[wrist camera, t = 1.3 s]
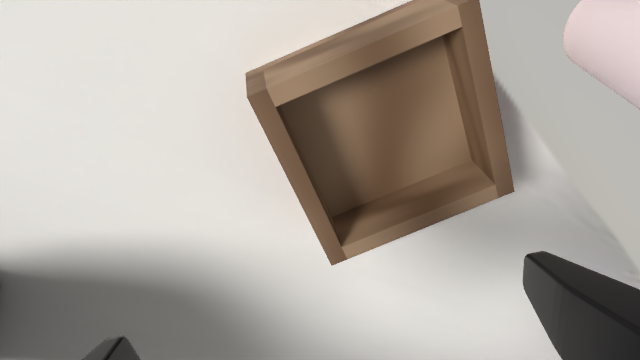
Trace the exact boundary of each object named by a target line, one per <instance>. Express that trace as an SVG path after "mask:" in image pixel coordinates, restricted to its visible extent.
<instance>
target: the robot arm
mask: <svg viewBox="0 0 640 360" xmlns="http://www.w3.org/2000/svg"><path fill="white" fill-rule="evenodd" d="M523 286H524V290H525V292H526V294H527V296H528V298H529V300H530V302H531V304H532V306H533V308H534V310H535V312H536V314H537V315H538V317H539V319H540V321H541V323H542V325H543V327H544V329H545V331H546V333H547V334H548V336H549V338H550V340H551V342H552V344H553V345H554V347H555V349H556V350H557V352H558V353H559V355H560V357H561V358H562V360H640V290H639V289H637V288H634V287H632V286H629V285H627V284H624V283H622V282H620V281H617V280H615V279H612V278H610V277H607V276H605V275H602V274H600V273H597V272H595V271H592V270H590V269H587V268H585V267H582V266H580V265H577V264H575V263H573V262H570V261H568V260H565V259H563V258H560V257H558V256H555V255H553V254H550V253H548V252H544V251H540V252H535V253H530V254H527V255H526V256H525V258H524V269H523ZM82 360H140V358H139V356H138V355H137V353H136V351H135V350H134V348H133V347H132V345H131V344H130V342H129V340H128V339H127V338H126V337H125V336H117V337H112V338H108V339H106V340H104V341H103V342H102V343H101V344H99V345H98V346H97V347H96V348H95V349H94V350H93V351H91V352H90V353H89V354H88V355H87V356H86V357H84V358H83V359H82Z"/></svg>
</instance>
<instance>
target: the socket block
mask: <svg viewBox="0 0 640 360" xmlns="http://www.w3.org/2000/svg"><path fill="white" fill-rule="evenodd" d="M246 88H247V98H248V100H249V102H250V104H251V106H252V108H253V110H254V112H255V114H256V116H257V118H258V120H259V122H260V124H261V126H262V128H263V130H264V132H265V134H266V136H267V138H268V140H269V142H270V144H271V146H272V148H273V150H274V152H275V154H276V156H277V158H278V160H279V162H280V164H281V166H282V168H283V170H284V172H285V174H286V176H287V178H288V180H289V182H290V184H291V186H292V188H293V189H294V191H295V193H296V195H297V197H298V199H299V201H300V203H301V205H302V207H303V209H304V211H305V213H306V215H307V217H308V219H309V221H310V223H311V225H312V227H313V229H314V231H315V233H316V235H317V237H318V239H319V241H320V243H321V245H322V247H323V249H324V251H325V253H326V255H327V257H328V259H329V261H330V263H331V265H334V264H337V263H339V262H342V261H344V260H347V259H349V258H352V257H354V256H357V255H359V254H362V253H364V252H366V251H369V250H371V249H374V248H376V247H379V246H381V245H384V244H386V243H389V242H391V241H394V240H396V239H398V238H401V237H403V236H406V235H408V234H411V233H413V232H416V231H418V230H421V229H423V228H426V227H428V226H430V225H433V224H435V223H438V222H440V221H443V220H445V219H448V218H450V217H453V216H455V215H458V214H460V213H462V212H465V211H467V210H470V209H472V208H475V207H477V206H480V205H482V204H485V203H487V202H490V201H492V200H494V199H497V198H499V197H502V196H504V195H507V194H509V193H512V192H514V187H513V181H512V176H511V170H510V165H509V160H508V154H507V149H506V143H505V138H504V132H503V127H502V122H501V116H500V111H499V105H498V100H497V95H496V89H495V84H494V78H493V73H492V68H491V62H490V57H489V52H488V46H487V40H486V35H485V30H484V24H483V19H482V13H481V8H480V3H479V0H412V1H410V2H408V3H405V4H403V5H401V6H399V7H396V8H394V9H392V10H389V11H387V12H385V13H383V14H380V15H378V16H376V17H373V18H371V19H369V20H367V21H364V22H362V23H360V24H357V25H355V26H353V27H350V28H348V29H346V30H344V31H341V32H339V33H337V34H334V35H332V36H330V37H328V38H325V39H323V40H321V41H318V42H316V43H314V44H311V45H309V46H307V47H305V48H302V49H300V50H298V51H295V52H293V53H291V54H289V55H286V56H284V57H282V58H279V59H277V60H275V61H273V62H270V63H268V64H266V65H263V66H261V67H259V68H256V69H254V70H252V71H250V72H247V73H246Z"/></svg>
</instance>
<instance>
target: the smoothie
mask: <svg viewBox="0 0 640 360" xmlns="http://www.w3.org/2000/svg"><path fill="white" fill-rule="evenodd" d="M563 43H564V49H565V52H566V54H567V56H568V58H569V59H570V60H571V61H572V62H574V63H575V64H576V65H578V66H579V67H581V68H582V69H584V70H585V71H586V72H588V73H589V74H590V75H592V76H593V77H595V78H596V79H598V80H599V81H600V82H602V83H603V84H604V85H606V86H607V87H609V88H610V89H611V90H613V91H614V92H616V93H617V94H619V95H620V96H621V97H623V98H624V99H626V100H627V101H628V102H630V103H631V104H633V105H634V106H636V107H637V108H638V109H640V0H581V1H580V2H579V4H578V5H577V6H576V7H575V9H574V10H573V12H572V13H571V15H570V17H569V19H568V21H567V24H566V26H565V30H564V36H563Z"/></svg>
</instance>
